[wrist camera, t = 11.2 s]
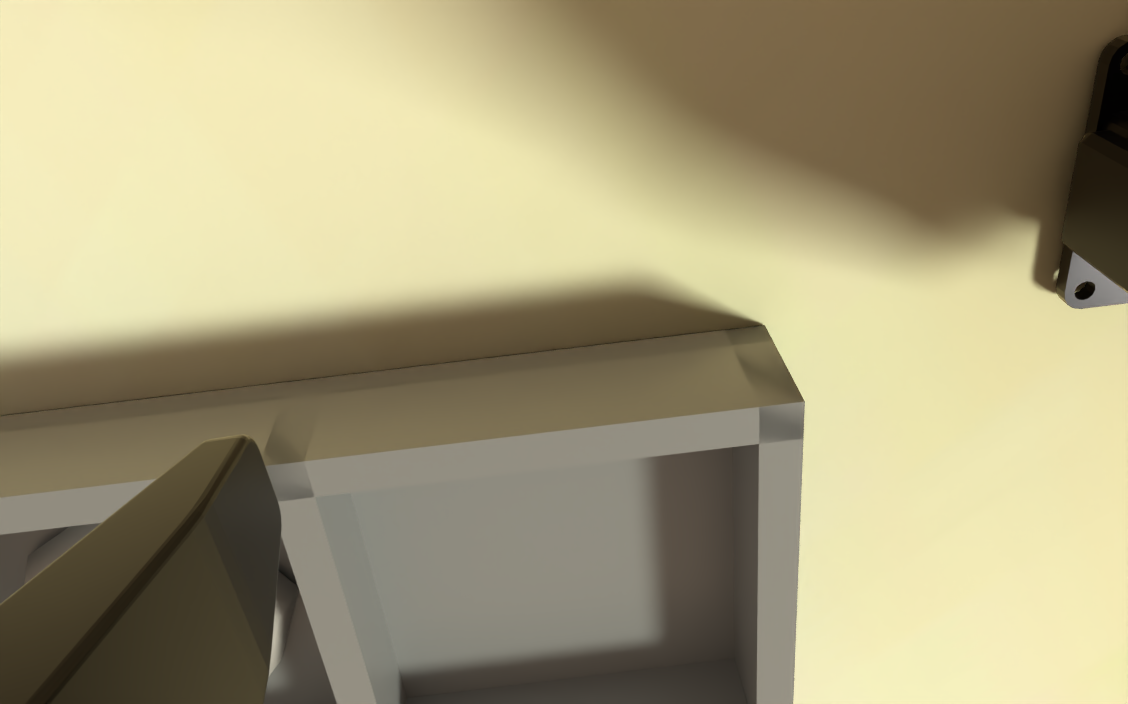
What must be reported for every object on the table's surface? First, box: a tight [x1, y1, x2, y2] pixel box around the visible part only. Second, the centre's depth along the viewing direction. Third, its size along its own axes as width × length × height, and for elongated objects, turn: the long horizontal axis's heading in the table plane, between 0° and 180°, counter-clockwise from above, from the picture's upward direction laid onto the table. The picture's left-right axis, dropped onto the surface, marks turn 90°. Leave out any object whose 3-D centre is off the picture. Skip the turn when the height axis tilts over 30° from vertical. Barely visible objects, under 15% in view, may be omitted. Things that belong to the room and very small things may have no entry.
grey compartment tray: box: [0, 325, 805, 704], centre depth 25 cm, size 23×12×4 cm, turn 96°
